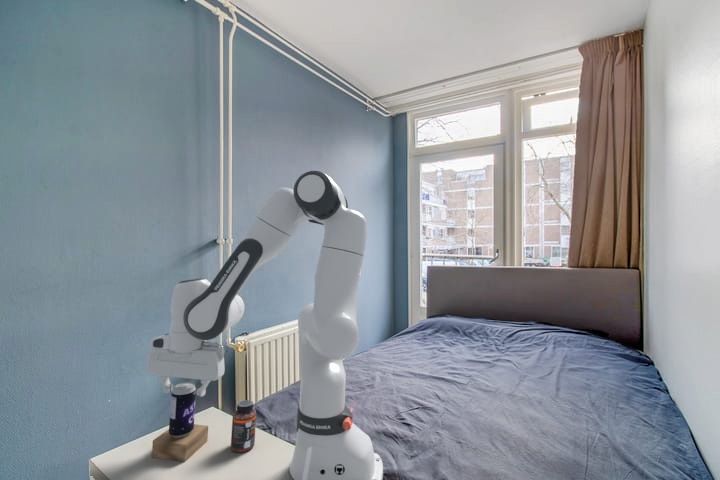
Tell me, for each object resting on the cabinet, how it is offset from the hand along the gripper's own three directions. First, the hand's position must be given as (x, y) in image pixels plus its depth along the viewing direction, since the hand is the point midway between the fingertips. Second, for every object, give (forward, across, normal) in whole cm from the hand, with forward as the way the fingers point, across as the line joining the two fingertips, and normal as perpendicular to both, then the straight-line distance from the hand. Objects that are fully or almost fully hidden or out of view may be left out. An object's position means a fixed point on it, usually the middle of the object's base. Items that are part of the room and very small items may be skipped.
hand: (184, 393), depth 84 cm
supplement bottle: (+14, -15, -4) cm, 21 cm away
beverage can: (+10, 0, 0) cm, 10 cm away
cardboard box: (+14, 0, 0) cm, 14 cm away
